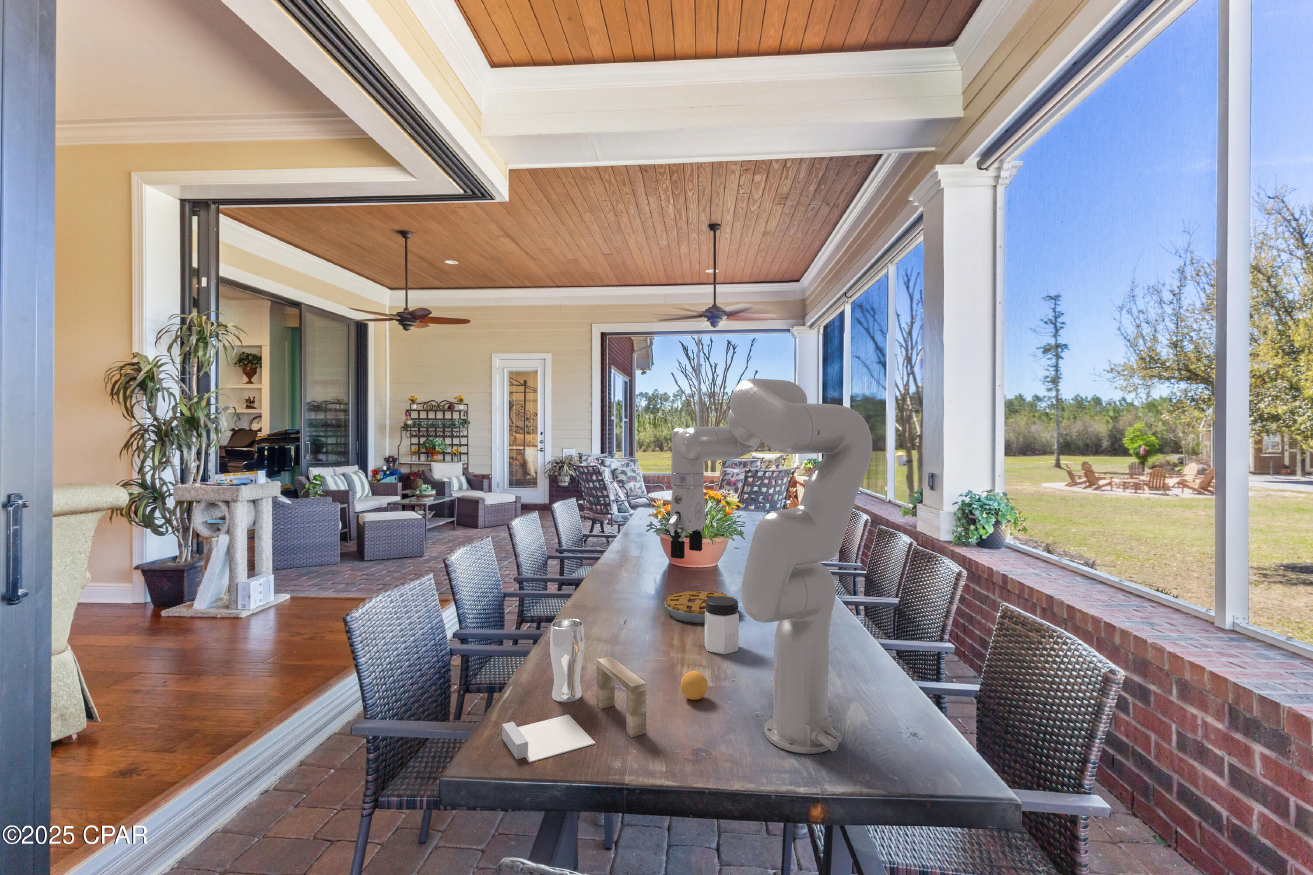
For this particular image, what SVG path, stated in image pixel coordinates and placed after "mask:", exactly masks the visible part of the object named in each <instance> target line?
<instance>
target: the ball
mask: <svg viewBox="0 0 1313 875" xmlns="http://www.w3.org/2000/svg"><path fill="white" fill-rule="evenodd" d="M707 680H708V679H707V678H706V677H705V675H704V674H703V673H701V672H700V671H697V670H691V671H690V670H689V671H688V672H686V673H685V674H684V675H683V676H682V679H681V681H680V690H681V692H682V695H683V696H685V698H687V699H689V700H692V701H697V700H700V699H702V698H703V697H704V696H705V695H706V693H707V692H708V681H707Z"/></svg>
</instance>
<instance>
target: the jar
mask: <svg viewBox="0 0 1313 875" xmlns="http://www.w3.org/2000/svg"><path fill="white" fill-rule="evenodd" d="M739 616H740V613H739V601H738V599H736V598H731V597H724V596H715V597H710V598H707V599H706V609H705V623H704V647H705V649H706V651H707V652H708V651H709V652H708V653H713V652H714V654H720V655H728V654H731V653H735V652H738V651H739V638H740V637H739V632H740V631H739V628H740V624H739V622H740V620H739V619H740V617H739Z"/></svg>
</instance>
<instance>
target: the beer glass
mask: <svg viewBox="0 0 1313 875" xmlns="http://www.w3.org/2000/svg"><path fill="white" fill-rule="evenodd" d="M549 636H550V637H549V638H550V639H549V653H550V661H551V666H552V673H553V686H552V693H551V699H553V700H554V701H555V702H558V703H572V702H576V701H578V700H579V699H581V698H582V696H583V695H582V694H583V693H582V688H581V670H582V665H583V660H584V654H585V653H584V652H585V629H584V621H582V620H581V619H578V618H577V619H576V618H561V619H557V620H553V621H552V622H551V624H550V635H549Z"/></svg>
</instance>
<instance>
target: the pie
mask: <svg viewBox="0 0 1313 875" xmlns="http://www.w3.org/2000/svg"><path fill="white" fill-rule="evenodd" d="M715 596H724V597H731V598H734V597H733V595H730V596H729V595H727V593H725V592H720V593H717V591H714V590H711V591H704V590H699V589H697V590H695V591H690V590H684V591H683V592H679V591H677V592H674V593H673V594H672V595H671V594H668V595H667V597H666V598H665V600H664V602H663V603H664V607H665V608H666V609H667V610H668V613H669V615H670V617H672V618H673V619H675V620H678V621H681V622H686V623H694V624H705V609H706V599H707V598H710V597H715ZM734 599H735V598H734Z"/></svg>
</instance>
